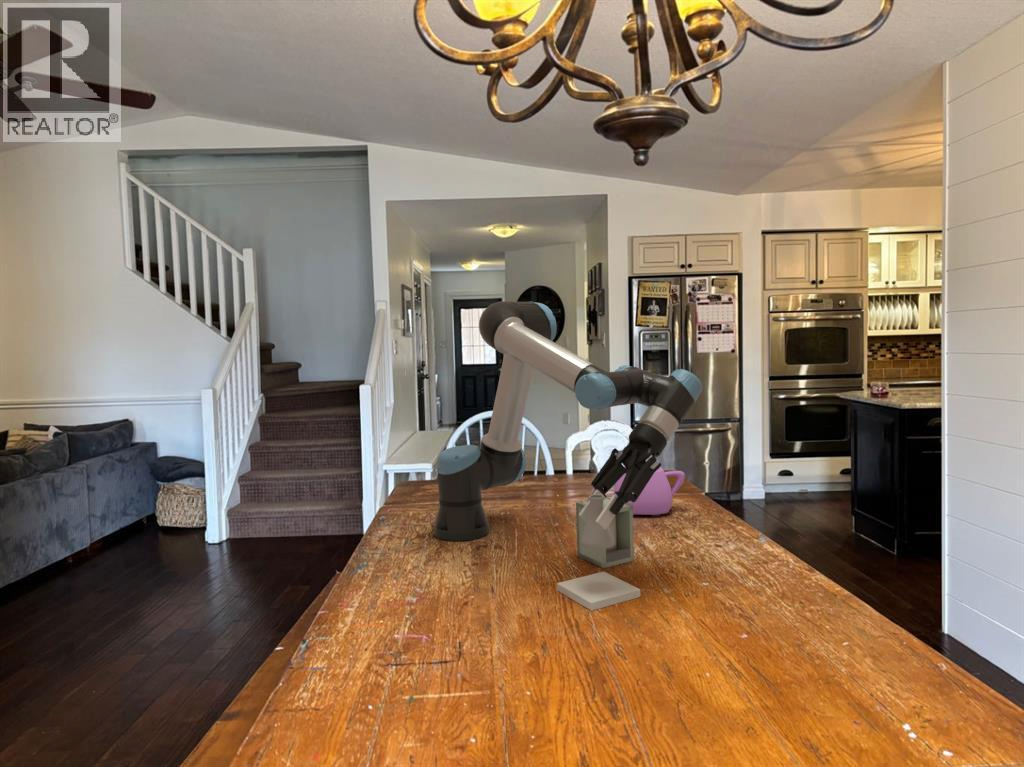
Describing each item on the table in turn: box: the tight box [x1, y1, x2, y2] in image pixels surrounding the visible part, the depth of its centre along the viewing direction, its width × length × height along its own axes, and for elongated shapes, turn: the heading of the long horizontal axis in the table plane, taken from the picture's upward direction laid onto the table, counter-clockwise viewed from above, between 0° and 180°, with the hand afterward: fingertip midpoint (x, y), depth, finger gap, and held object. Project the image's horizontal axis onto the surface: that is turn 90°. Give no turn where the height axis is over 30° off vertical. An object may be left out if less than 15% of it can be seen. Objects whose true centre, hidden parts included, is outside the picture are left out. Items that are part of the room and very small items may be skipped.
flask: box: [580, 494, 616, 549], centre depth 128 cm, size 7×7×10 cm
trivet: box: [556, 571, 641, 611], centre depth 129 cm, size 12×12×2 cm
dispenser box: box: [575, 496, 635, 569], centre depth 149 cm, size 10×9×13 cm
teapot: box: [612, 465, 686, 517], centre depth 191 cm, size 23×21×15 cm
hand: (592, 521), depth 127 cm, fingers closed on flask, 5 cm apart
